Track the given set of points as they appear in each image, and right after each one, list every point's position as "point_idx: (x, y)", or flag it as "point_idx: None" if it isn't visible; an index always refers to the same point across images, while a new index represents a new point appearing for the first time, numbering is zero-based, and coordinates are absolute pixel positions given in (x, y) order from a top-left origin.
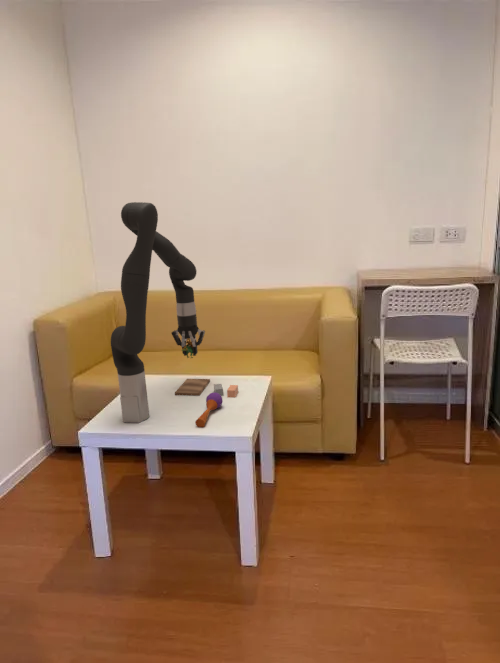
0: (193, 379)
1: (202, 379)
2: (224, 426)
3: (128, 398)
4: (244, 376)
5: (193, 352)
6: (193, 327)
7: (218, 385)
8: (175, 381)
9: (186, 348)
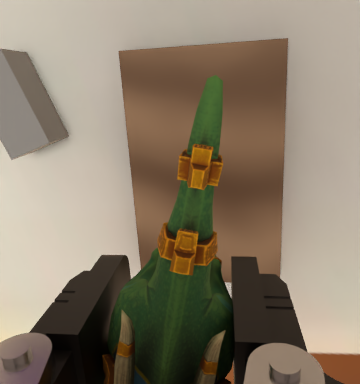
0: None
1: None
2: None
3: None
4: (7, 338)
5: (102, 275)
6: None
7: (14, 128)
8: (350, 273)
9: (160, 247)
